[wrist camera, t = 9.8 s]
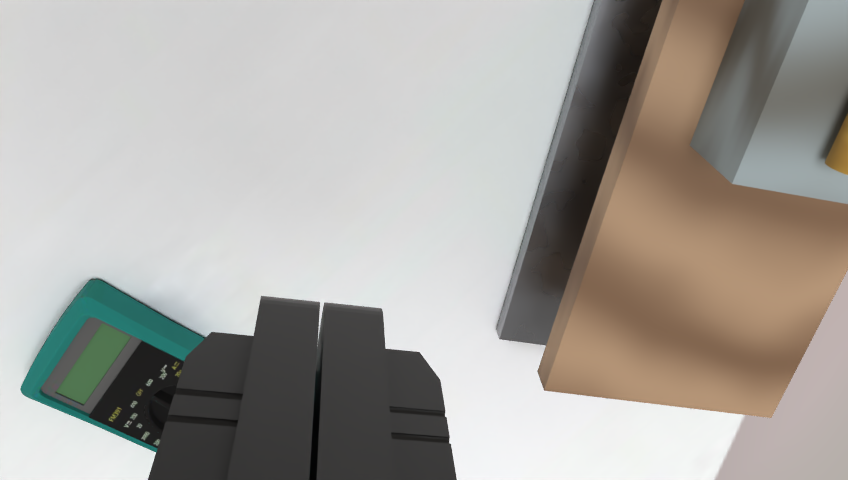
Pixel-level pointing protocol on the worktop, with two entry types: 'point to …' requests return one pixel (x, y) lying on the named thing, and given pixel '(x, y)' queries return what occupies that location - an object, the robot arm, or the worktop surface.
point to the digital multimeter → (112, 364)
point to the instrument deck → (714, 212)
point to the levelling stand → (576, 164)
